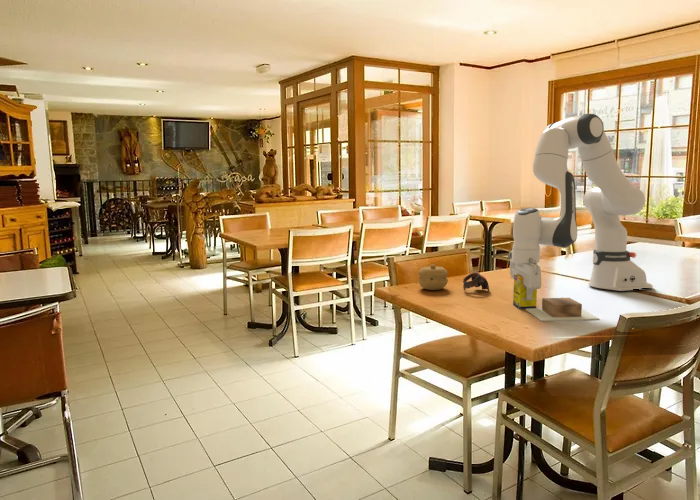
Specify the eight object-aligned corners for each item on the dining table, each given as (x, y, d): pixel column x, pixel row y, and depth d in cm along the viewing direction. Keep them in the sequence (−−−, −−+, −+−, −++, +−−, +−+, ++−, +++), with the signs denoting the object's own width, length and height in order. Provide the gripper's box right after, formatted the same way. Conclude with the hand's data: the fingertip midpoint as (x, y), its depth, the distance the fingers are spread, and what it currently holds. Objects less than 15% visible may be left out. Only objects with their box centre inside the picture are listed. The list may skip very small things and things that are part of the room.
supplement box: (512, 304, 183) (513, 274, 181) (529, 304, 183) (530, 273, 182) (519, 309, 177) (520, 277, 176) (536, 308, 178) (537, 276, 176)
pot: (453, 291, 206) (453, 265, 205) (425, 293, 203) (425, 268, 202) (439, 285, 218) (439, 261, 216) (413, 287, 214) (413, 263, 213)
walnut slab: (568, 309, 174) (569, 297, 173) (581, 316, 165) (581, 304, 165) (541, 310, 174) (542, 298, 173) (552, 317, 165) (553, 305, 164)
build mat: (578, 308, 177) (578, 307, 177) (599, 319, 163) (599, 318, 163) (525, 309, 176) (525, 308, 176) (541, 321, 162) (541, 320, 162)
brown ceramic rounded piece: (492, 294, 199) (483, 276, 197) (469, 304, 202) (460, 286, 200) (489, 281, 210) (480, 264, 208) (467, 291, 213) (458, 274, 211)
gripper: (547, 261, 168) (545, 303, 169) (524, 251, 188) (523, 289, 190) (527, 261, 167) (526, 304, 169) (507, 252, 188) (506, 290, 190)
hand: (524, 296), depth 180 cm, fingers closed on supplement box, 6 cm apart
